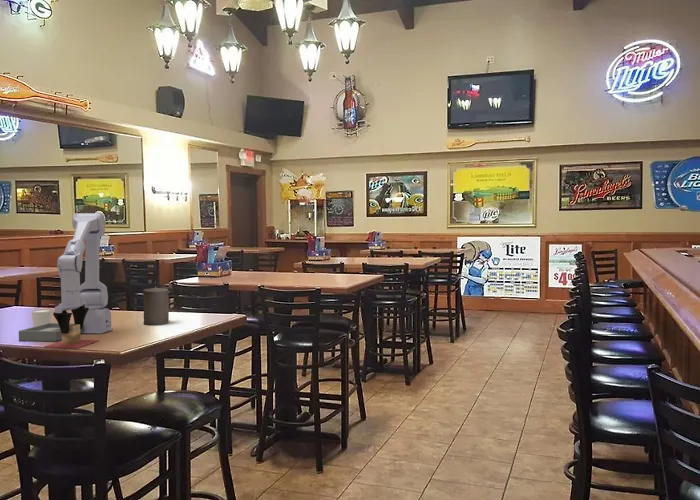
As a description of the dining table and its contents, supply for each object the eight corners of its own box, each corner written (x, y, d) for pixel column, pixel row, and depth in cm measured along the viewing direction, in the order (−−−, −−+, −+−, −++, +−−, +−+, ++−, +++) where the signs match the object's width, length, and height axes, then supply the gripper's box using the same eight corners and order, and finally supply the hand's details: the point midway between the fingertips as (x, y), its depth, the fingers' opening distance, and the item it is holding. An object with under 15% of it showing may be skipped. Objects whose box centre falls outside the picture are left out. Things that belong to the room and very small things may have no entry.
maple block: (80, 342, 201) (80, 324, 201) (73, 344, 198) (72, 326, 197) (69, 341, 202) (69, 324, 202) (62, 344, 198) (61, 326, 198)
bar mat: (99, 341, 205) (99, 339, 205) (78, 348, 193) (78, 347, 193) (66, 340, 207) (66, 339, 207) (44, 347, 195) (44, 346, 195)
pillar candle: (138, 324, 238) (137, 286, 237) (156, 320, 247) (156, 284, 246) (156, 326, 233) (155, 288, 233) (174, 322, 242) (173, 285, 241)
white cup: (30, 331, 225) (29, 312, 224) (34, 328, 231) (34, 310, 231) (50, 330, 226) (49, 311, 226) (54, 327, 233) (53, 309, 233)
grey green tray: (83, 333, 220) (83, 323, 220) (56, 341, 204) (55, 331, 204) (48, 332, 222) (48, 323, 222) (18, 340, 206) (18, 330, 206)
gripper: (72, 288, 207) (74, 327, 207) (45, 293, 192) (47, 335, 193) (91, 288, 206) (93, 327, 206) (65, 293, 191) (67, 335, 192)
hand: (72, 331), depth 200 cm, fingers open, 7 cm apart
